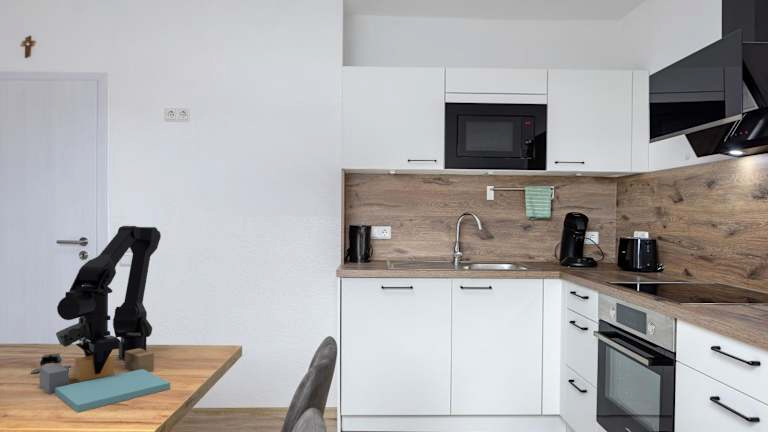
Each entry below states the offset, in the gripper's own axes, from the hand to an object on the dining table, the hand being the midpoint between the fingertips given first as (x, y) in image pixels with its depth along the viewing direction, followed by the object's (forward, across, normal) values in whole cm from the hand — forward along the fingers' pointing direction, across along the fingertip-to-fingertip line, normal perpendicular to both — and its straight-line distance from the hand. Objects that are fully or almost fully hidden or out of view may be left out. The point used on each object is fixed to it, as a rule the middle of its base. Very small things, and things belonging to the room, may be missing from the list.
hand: (94, 371), depth 130 cm
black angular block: (+2, -14, -6) cm, 16 cm away
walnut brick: (+1, +3, +10) cm, 11 cm away
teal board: (+1, +16, -1) cm, 16 cm away
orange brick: (+1, 0, 0) cm, 1 cm away
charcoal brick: (+1, +3, -10) cm, 11 cm away
